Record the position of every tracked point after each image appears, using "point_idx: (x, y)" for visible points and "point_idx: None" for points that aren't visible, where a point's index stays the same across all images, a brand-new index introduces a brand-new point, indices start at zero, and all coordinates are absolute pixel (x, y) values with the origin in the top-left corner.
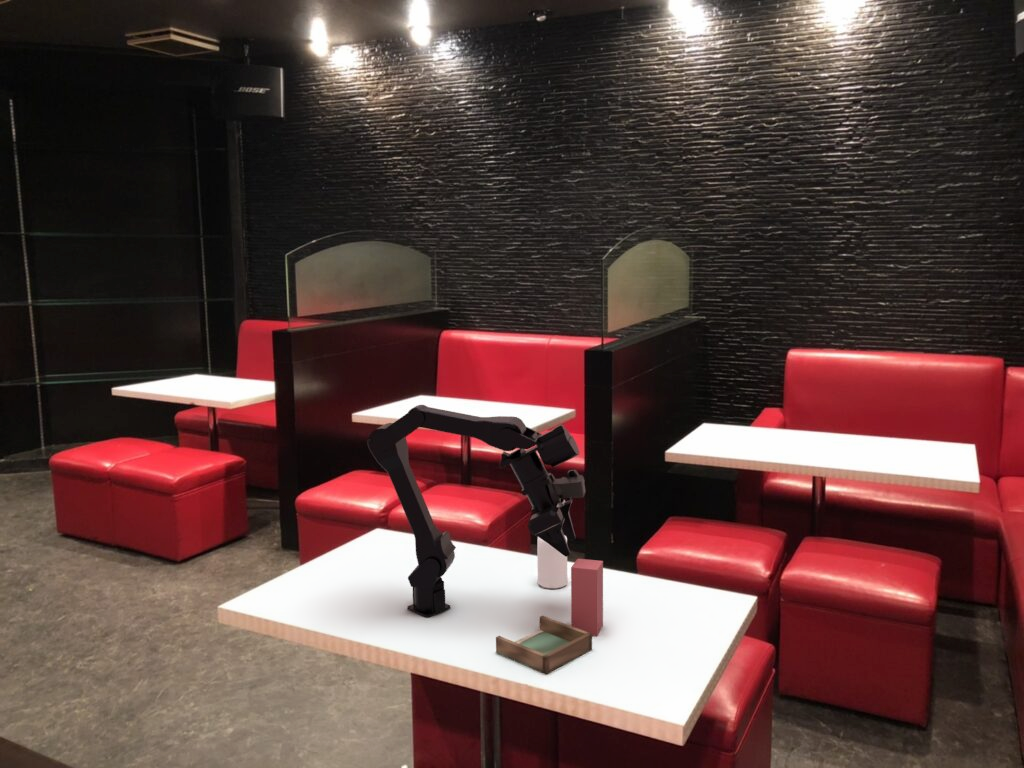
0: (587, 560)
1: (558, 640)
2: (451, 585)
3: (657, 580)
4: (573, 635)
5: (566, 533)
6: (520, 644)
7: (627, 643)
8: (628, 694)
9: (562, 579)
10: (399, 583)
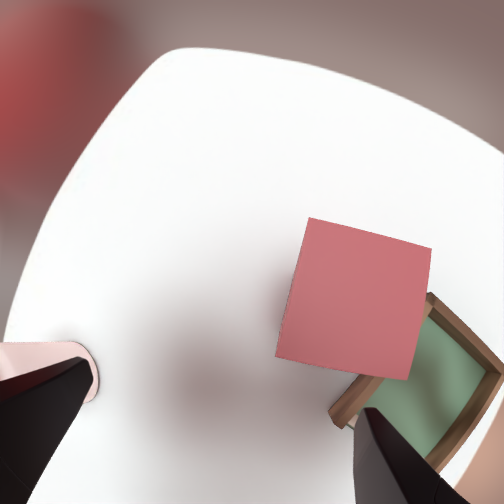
0: (305, 301)
1: None
2: None
3: (78, 163)
4: None
5: (68, 412)
6: (466, 431)
7: (379, 220)
8: None
9: (80, 356)
10: None
